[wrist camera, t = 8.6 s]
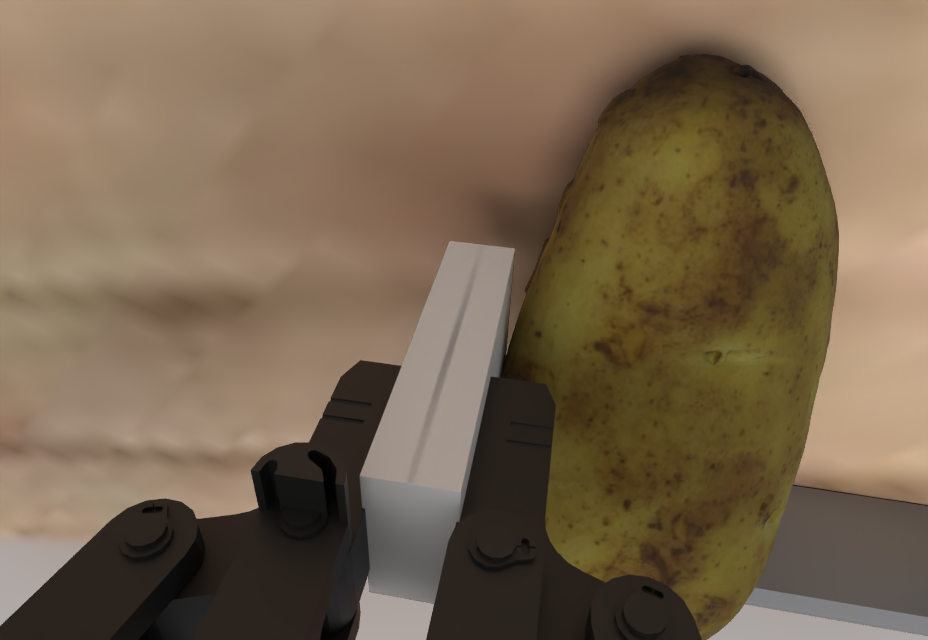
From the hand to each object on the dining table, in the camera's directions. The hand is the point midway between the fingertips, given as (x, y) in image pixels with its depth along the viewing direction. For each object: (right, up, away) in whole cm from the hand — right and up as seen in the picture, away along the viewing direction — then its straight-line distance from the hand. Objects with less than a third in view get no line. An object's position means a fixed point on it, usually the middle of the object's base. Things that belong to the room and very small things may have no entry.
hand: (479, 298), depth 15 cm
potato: (+5, 0, +4) cm, 6 cm away
